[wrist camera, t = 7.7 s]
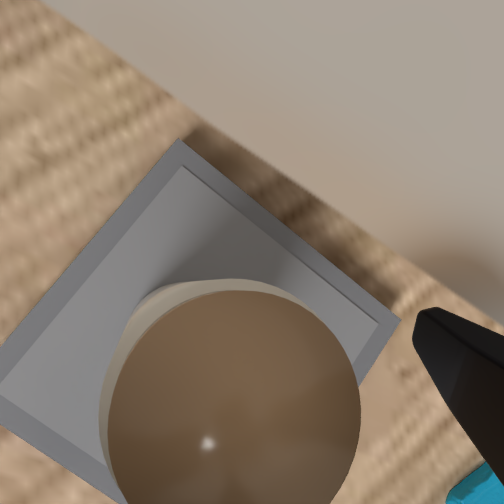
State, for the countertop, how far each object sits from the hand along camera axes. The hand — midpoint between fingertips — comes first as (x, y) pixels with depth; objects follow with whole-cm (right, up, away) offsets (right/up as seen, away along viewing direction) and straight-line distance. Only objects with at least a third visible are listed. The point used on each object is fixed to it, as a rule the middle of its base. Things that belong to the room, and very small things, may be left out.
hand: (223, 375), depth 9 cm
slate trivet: (-1, -2, +9) cm, 10 cm away
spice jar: (-2, -1, +8) cm, 8 cm away
